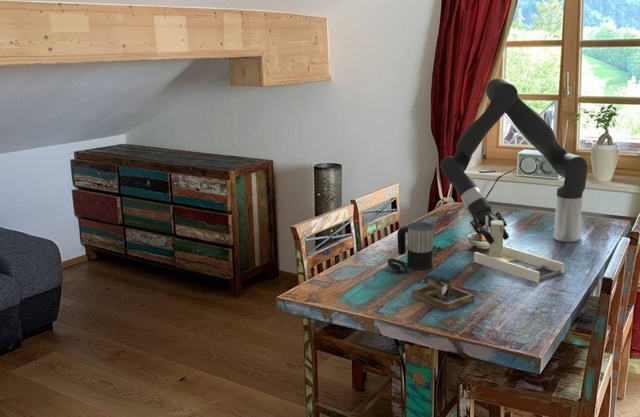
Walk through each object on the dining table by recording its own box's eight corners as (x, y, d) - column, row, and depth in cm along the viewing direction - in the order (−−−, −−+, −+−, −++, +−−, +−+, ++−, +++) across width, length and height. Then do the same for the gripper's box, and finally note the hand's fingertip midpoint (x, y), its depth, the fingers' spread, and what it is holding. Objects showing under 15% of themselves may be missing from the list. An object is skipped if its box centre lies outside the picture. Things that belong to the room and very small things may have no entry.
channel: (499, 253, 250) (500, 244, 249) (563, 273, 228) (564, 263, 227) (473, 261, 242) (474, 252, 241) (537, 282, 220) (537, 272, 220)
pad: (497, 254, 249) (497, 253, 249) (514, 259, 242) (514, 258, 242) (476, 260, 243) (476, 259, 243) (494, 266, 236) (494, 265, 236)
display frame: (438, 287, 219) (439, 281, 219) (474, 301, 207) (474, 294, 207) (411, 296, 213) (411, 290, 212) (446, 311, 201) (446, 304, 200)
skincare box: (502, 258, 239) (504, 225, 235) (489, 257, 240) (491, 224, 236) (501, 252, 245) (502, 219, 242) (489, 251, 246) (490, 219, 242)
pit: (543, 268, 233) (543, 265, 233) (560, 274, 227) (561, 270, 227) (522, 275, 227) (522, 272, 226) (540, 281, 221) (540, 278, 221)
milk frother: (436, 263, 242) (437, 223, 238) (423, 277, 228) (424, 235, 224) (398, 258, 248) (398, 219, 244) (383, 272, 234) (383, 231, 230)
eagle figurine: (451, 289, 214) (423, 282, 216) (454, 276, 209) (425, 269, 211) (446, 309, 210) (417, 301, 212) (448, 296, 204) (419, 288, 206)
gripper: (467, 200, 239) (492, 239, 233) (494, 193, 247) (519, 231, 241) (456, 211, 244) (479, 250, 238) (483, 205, 252) (506, 242, 246)
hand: (499, 240), depth 239 cm, fingers closed on skincare box, 7 cm apart
